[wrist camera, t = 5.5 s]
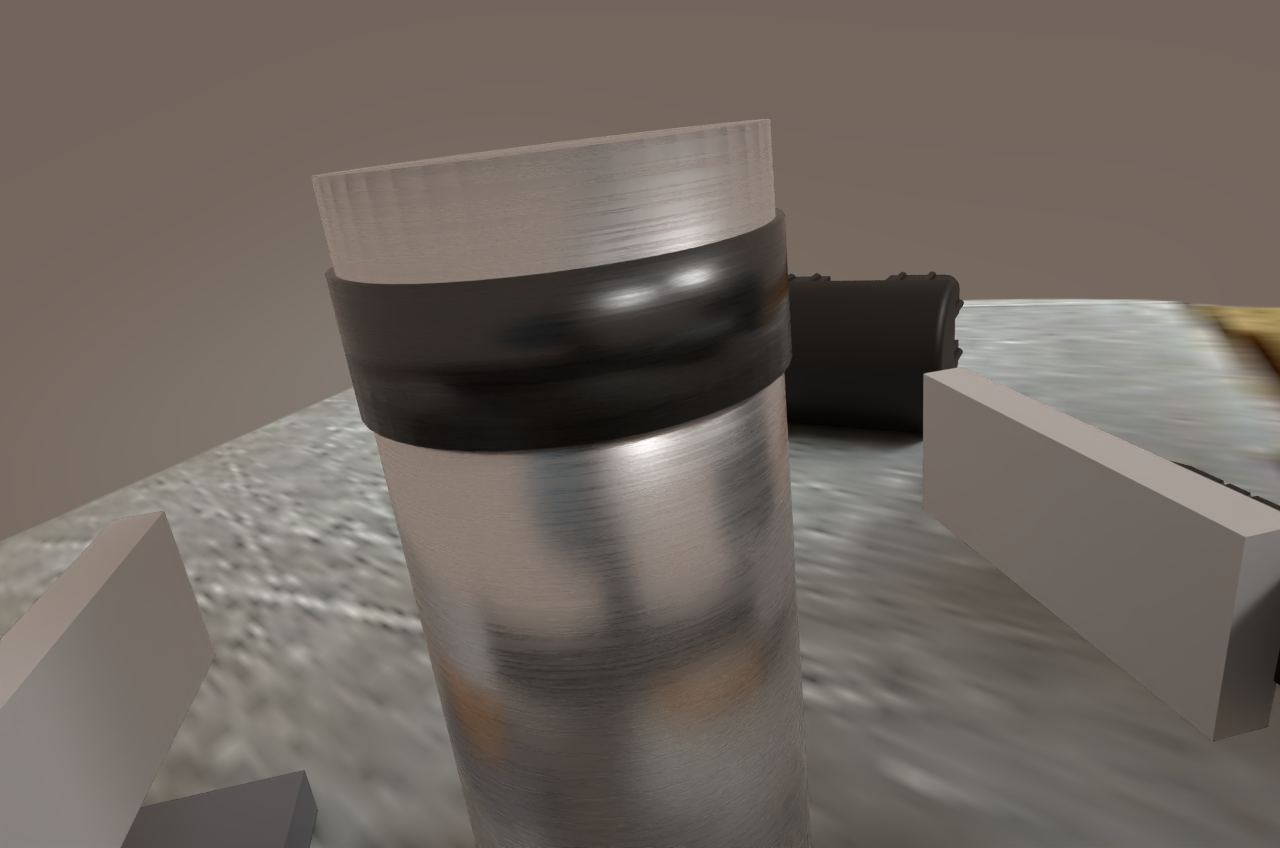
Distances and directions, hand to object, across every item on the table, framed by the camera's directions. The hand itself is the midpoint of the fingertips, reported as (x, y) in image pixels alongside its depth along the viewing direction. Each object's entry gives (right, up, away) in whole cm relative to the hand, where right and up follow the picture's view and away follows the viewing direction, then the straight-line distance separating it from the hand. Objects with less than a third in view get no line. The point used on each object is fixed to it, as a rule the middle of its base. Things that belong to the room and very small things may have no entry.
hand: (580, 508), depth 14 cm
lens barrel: (+2, -8, 0) cm, 9 cm away
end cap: (+11, +1, +24) cm, 26 cm away
